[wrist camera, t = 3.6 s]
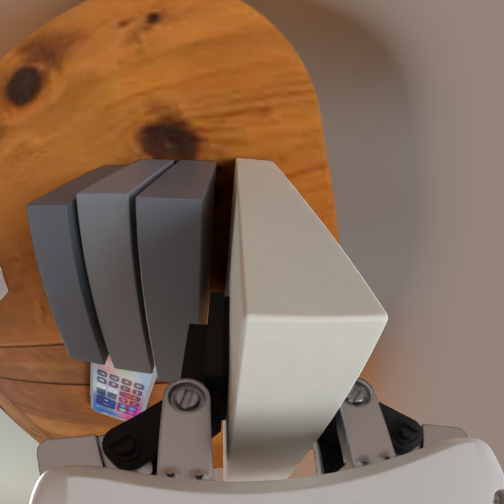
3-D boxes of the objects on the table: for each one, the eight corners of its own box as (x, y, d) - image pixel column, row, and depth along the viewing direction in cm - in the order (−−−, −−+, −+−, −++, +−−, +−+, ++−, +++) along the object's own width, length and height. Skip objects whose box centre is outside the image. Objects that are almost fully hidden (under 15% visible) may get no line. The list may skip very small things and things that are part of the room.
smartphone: (160, 369, 24) (140, 426, 30) (161, 362, 25) (141, 421, 31) (89, 344, 22) (89, 409, 28) (93, 337, 23) (91, 404, 29)
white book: (235, 157, 17) (242, 317, 4) (273, 161, 17) (391, 316, 4) (225, 289, 22) (223, 488, 8) (256, 291, 22) (280, 486, 9)
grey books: (103, 160, 16) (21, 197, 8) (217, 161, 17) (202, 199, 9) (114, 283, 21) (71, 364, 13) (210, 291, 22) (201, 385, 14)
